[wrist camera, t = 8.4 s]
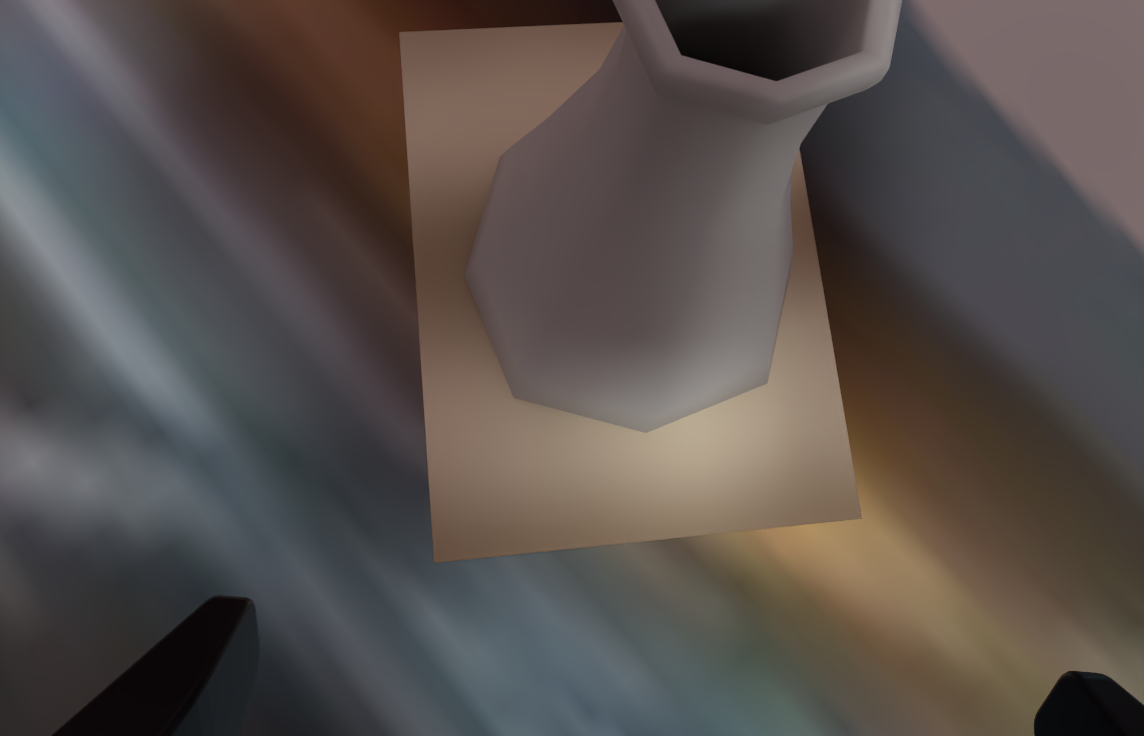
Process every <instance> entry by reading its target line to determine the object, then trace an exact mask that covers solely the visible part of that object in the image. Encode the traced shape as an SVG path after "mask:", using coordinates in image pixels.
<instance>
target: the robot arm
mask: <svg viewBox="0 0 1144 736" xmlns="http://www.w3.org/2000/svg"><path fill="white" fill-rule="evenodd" d="M259 660H260V643H259V634H258V626H257V617H256V609H255V605H254V603H253V601H252V600H251V599H249V598H246V597H235V596H224V595H217V596H214V597H211V598H210V599H208V600H207V601H205V602H204V603H203V604H202V605H201V606H200V607H199V608H197V609H196V610H195V611H194V612H193V613H192V614H191V615H189V616H188V617H187V618H186V619H185V620H184V621H182V622H181V623H180V624H179V625H178V626H177V627H176V628H174V629H173V630H172V631H171V632H170V633H169V634H167V635H166V636H165V637H164V638H163V639H162V640H161V641H159V642H158V643H157V644H156V645H155V646H154V647H153V648H151V649H150V650H149V651H148V652H147V653H146V654H144V655H143V656H142V657H141V658H140V659H139V660H138V661H136V662H135V663H134V664H133V665H132V666H131V667H129V668H128V669H127V670H126V671H125V672H124V673H123V674H121V675H120V676H119V677H118V678H117V679H116V680H115V681H113V682H112V683H111V684H110V685H109V686H108V687H106V688H105V689H104V690H103V691H102V692H101V693H100V694H98V695H97V696H96V697H95V698H94V699H93V700H92V701H90V702H89V703H88V704H87V705H86V706H85V707H83V708H82V709H81V710H80V711H79V712H78V713H77V714H75V715H74V716H73V717H72V718H71V719H70V720H68V721H67V722H66V723H65V724H64V725H63V726H62V727H60V728H59V729H58V730H57V731H56V732H55V733H54V734H52V735H51V736H239V735H240V731H241V728H242V724H243V720H244V717H245V713H246V710H247V706H248V703H249V699H250V696H251V692H252V688H253V685H254V681H255V678H256V674H257V670H258V666H259ZM1034 734H1035V736H1144V705H1143V704H1142V703H1141V702H1139V701H1138V700H1137V699H1136V698H1135V697H1133V696H1132V695H1131V694H1130V693H1128V692H1127V691H1126V690H1125V689H1124V688H1122V687H1121V686H1120V685H1119V684H1118V683H1116V682H1115V681H1114V680H1112V679H1111V678H1110V677H1108V676H1106V675H1103V674H1099V673H1091V672H1080V671H1068V672H1066V673H1064V674H1063V675H1062V676H1061V677H1060V678H1059V680H1058V681H1057V683H1056V684H1055V686H1054V687H1053V689H1052V690H1051V692H1050V693H1049V695H1048V696H1047V698H1046V699H1045V701H1044V702H1043V704H1042V705H1041V707H1040V708H1039V710H1038V712H1037V714H1036V716H1035V720H1034Z"/></svg>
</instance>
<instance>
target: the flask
mask: <svg viewBox="0 0 1144 736" xmlns="http://www.w3.org/2000/svg"><path fill="white" fill-rule="evenodd" d="M613 2H614V4H615V6H616V9H617V11H618V13H619V15H620V17H621V19H622V21H623V24H624V26H623V28H622V30H621V31H620V33H619V35H618V37H617V39H616V41H615V42H614V44H613V46H612V48H611V50H610V51H609V53H608V55H607V57H606V59H605V60H604V62H603V64H602V66H601V68H600V69H599V70H598V71H597V72H596V73H595V74H594V75H593V76H592V77H591V78H590V79H589V80H587V81H586V82H585V83H584V84H583V85H582V86H581V87H580V88H579V89H578V90H577V91H576V92H575V93H574V94H573V95H572V96H571V97H569V98H568V99H567V100H566V101H565V102H564V103H563V104H562V105H561V106H560V107H559V108H558V109H557V110H556V111H555V112H554V113H553V114H551V115H550V116H549V117H548V118H547V119H546V120H545V121H543V122H542V123H541V124H539V125H538V126H537V127H536V128H534V129H533V130H532V131H530V132H529V133H528V134H526V135H525V136H524V137H523V138H521V139H520V140H519V141H517V142H516V143H515V144H514V145H512V146H511V147H510V148H509V149H508V150H507V151H506V152H505V153H504V154H503V155H501V156H500V158H499V161H498V165H497V168H496V171H495V175H494V178H493V181H492V185H491V188H490V191H489V195H488V198H487V201H486V204H485V208H484V211H483V214H482V218H481V221H480V224H479V228H478V231H477V234H476V238H475V241H474V244H473V248H472V251H471V254H470V258H469V261H468V264H467V268H466V271H465V274H464V276H465V279H466V281H467V284H468V286H469V289H470V291H471V294H472V296H473V299H474V301H475V304H476V306H477V309H478V311H479V314H480V316H481V318H482V321H483V323H484V326H485V328H486V331H487V333H488V336H489V338H490V341H491V343H492V346H493V348H494V351H495V353H496V356H497V358H498V360H499V363H500V365H501V368H502V370H503V373H504V375H505V378H506V380H507V383H508V385H509V388H510V390H511V393H512V395H513V398H516V399H520V400H524V401H527V402H531V403H535V404H539V405H542V406H546V407H550V408H554V409H557V410H561V411H565V412H569V413H573V414H576V415H580V416H584V417H588V418H591V419H595V420H599V421H603V422H606V423H610V424H614V425H618V426H621V427H625V428H629V429H633V430H637V431H640V432H644V433H647V432H650V431H652V430H655V429H657V428H659V427H662V426H664V425H667V424H669V423H672V422H674V421H677V420H679V419H681V418H684V417H686V416H689V415H691V414H694V413H696V412H699V411H701V410H703V409H706V408H708V407H711V406H713V405H716V404H718V403H721V402H723V401H725V400H728V399H730V398H733V397H735V396H738V395H740V394H743V393H745V392H748V391H750V390H752V389H755V388H757V387H760V386H762V385H765V384H767V383H768V378H769V373H770V368H771V363H772V358H773V353H774V349H775V344H776V339H777V334H778V329H779V324H780V319H781V315H782V310H783V305H784V300H785V295H786V290H787V285H788V281H789V276H790V271H791V266H792V261H793V238H792V221H791V179H792V168H793V165H794V162H795V159H796V156H797V153H798V150H799V147H800V144H801V142H802V141H803V140H804V138H805V137H806V135H807V134H808V132H809V131H810V129H811V128H812V126H813V125H814V123H815V122H816V120H817V119H818V117H819V116H820V115H821V113H822V112H823V110H824V109H825V107H826V106H827V104H828V103H831V102H833V101H836V100H839V99H842V98H845V97H847V96H850V95H853V94H856V93H859V92H861V91H864V90H867V89H869V88H870V87H872V86H873V85H875V84H877V83H878V82H880V81H881V80H882V79H883V77H884V76H885V74H886V73H887V71H888V70H889V68H890V62H891V57H892V52H893V47H894V41H895V36H896V31H897V25H898V20H899V15H900V9H901V4H902V0H613Z"/></svg>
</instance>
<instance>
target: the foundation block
mask: <svg viewBox="0 0 1144 736" xmlns="http://www.w3.org/2000/svg"><path fill="white" fill-rule="evenodd" d="M623 26H624V24H623V22H616V23H593V24H570V25H548V26H525V27H503V28H480V29H458V30H435V31H413V32H399V37H400V52H401V67H402V82H403V97H404V113H405V128H406V143H407V158H408V174H409V189H410V204H411V219H412V234H413V250H414V265H415V280H416V295H417V311H418V326H419V341H420V356H421V371H422V387H423V402H424V417H425V432H426V448H427V463H428V478H429V493H430V508H431V524H432V539H433V554H434V563H439V562H448V561H458V560H467V559H477V558H487V557H496V556H506V555H516V554H525V553H535V552H544V551H554V550H564V549H573V548H583V547H593V546H602V545H612V544H622V543H631V542H641V541H650V540H660V539H670V538H679V537H689V536H699V535H708V534H718V533H727V532H737V531H747V530H756V529H766V528H776V527H785V526H795V525H805V524H814V523H824V522H833V521H843V520H853V519H862V516H861V510H860V504H859V498H858V493H857V487H856V481H855V475H854V469H853V463H852V457H851V451H850V445H849V439H848V433H847V427H846V421H845V415H844V410H843V404H842V398H841V392H840V386H839V380H838V374H837V368H836V362H835V356H834V350H833V344H832V338H831V332H830V327H829V321H828V315H827V309H826V303H825V297H824V291H823V285H822V279H821V273H820V267H819V261H818V255H817V249H816V244H815V238H814V232H813V226H812V220H811V214H810V208H809V202H808V196H807V190H806V184H805V178H804V172H803V166H802V161H801V155H800V149H799V150H798V153H797V156H796V159H795V162H794V165H793V168H792V179H791V221H792V238H793V261H792V266H791V271H790V276H789V281H788V285H787V290H786V295H785V300H784V305H783V310H782V315H781V319H780V324H779V329H778V334H777V339H776V344H775V349H774V353H773V358H772V363H771V368H770V373H769V378H768V383H767V384H765V385H762V386H760V387H757V388H755V389H752V390H750V391H748V392H745V393H743V394H740V395H738V396H735V397H733V398H730V399H728V400H725V401H723V402H721V403H718V404H716V405H713V406H711V407H708V408H706V409H703V410H701V411H699V412H696V413H694V414H691V415H689V416H686V417H684V418H681V419H679V420H677V421H674V422H672V423H669V424H667V425H664V426H662V427H659V428H657V429H655V430H652V431H650V432H647V433H644V432H640V431H637V430H633V429H629V428H625V427H621V426H618V425H614V424H610V423H606V422H603V421H599V420H595V419H591V418H588V417H584V416H580V415H576V414H573V413H569V412H565V411H561V410H557V409H554V408H550V407H546V406H542V405H539V404H535V403H531V402H527V401H524V400H520V399H516V398H513V395H512V393H511V390H510V388H509V385H508V383H507V380H506V378H505V375H504V373H503V370H502V368H501V365H500V363H499V360H498V358H497V356H496V353H495V351H494V348H493V346H492V343H491V341H490V338H489V336H488V333H487V331H486V328H485V326H484V323H483V321H482V318H481V316H480V314H479V311H478V309H477V306H476V304H475V301H474V299H473V296H472V294H471V291H470V289H469V286H468V284H467V281H466V279H465V276H464V274H465V271H466V268H467V264H468V261H469V258H470V254H471V251H472V248H473V244H474V241H475V238H476V234H477V231H478V228H479V224H480V221H481V218H482V214H483V211H484V208H485V204H486V201H487V198H488V195H489V191H490V188H491V185H492V181H493V178H494V175H495V171H496V168H497V165H498V161H499V158H500V156H501V155H503V154H504V153H505V152H506V151H507V150H508V149H509V148H510V147H511V146H512V145H514V144H515V143H516V142H517V141H519V140H520V139H521V138H523V137H524V136H525V135H526V134H528V133H529V132H530V131H532V130H533V129H534V128H536V127H537V126H538V125H539V124H541V123H542V122H543V121H545V120H546V119H547V118H548V117H549V116H550V115H551V114H553V113H554V112H555V111H556V110H557V109H558V108H559V107H560V106H561V105H562V104H563V103H564V102H565V101H566V100H567V99H568V98H569V97H571V96H572V95H573V94H574V93H575V92H576V91H577V90H578V89H579V88H580V87H581V86H582V85H583V84H584V83H585V82H586V81H587V80H589V79H590V78H591V77H592V76H593V75H594V74H595V73H596V72H597V71H598V70H599V69H600V68H601V66H602V64H603V62H604V60H605V59H606V57H607V55H608V53H609V51H610V50H611V48H612V46H613V44H614V42H615V41H616V39H617V37H618V35H619V33H620V31H621V30H622V28H623Z"/></svg>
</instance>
